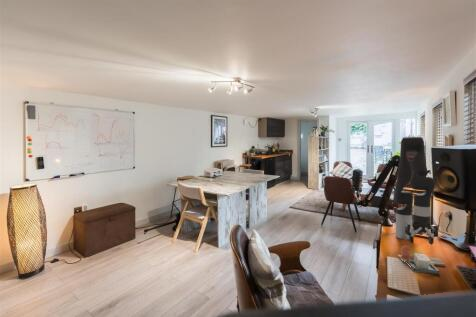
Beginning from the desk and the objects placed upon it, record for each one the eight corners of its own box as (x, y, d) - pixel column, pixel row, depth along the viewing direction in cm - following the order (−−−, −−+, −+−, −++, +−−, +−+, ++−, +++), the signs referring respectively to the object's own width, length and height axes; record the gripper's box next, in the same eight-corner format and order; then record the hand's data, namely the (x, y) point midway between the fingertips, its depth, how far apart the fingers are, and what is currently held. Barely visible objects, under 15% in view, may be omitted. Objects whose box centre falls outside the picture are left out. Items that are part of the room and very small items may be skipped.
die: (413, 260, 127) (414, 253, 126) (424, 261, 126) (425, 254, 124) (417, 267, 123) (418, 259, 121) (428, 268, 121) (430, 261, 119)
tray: (406, 263, 129) (406, 259, 128) (429, 265, 126) (429, 261, 126) (414, 271, 120) (414, 268, 120) (439, 274, 117) (439, 270, 117)
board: (397, 256, 136) (397, 254, 136) (437, 259, 131) (437, 258, 131) (402, 262, 129) (403, 260, 129) (445, 266, 124) (445, 264, 124)
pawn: (399, 256, 135) (400, 243, 134) (407, 256, 134) (407, 244, 133) (402, 259, 131) (403, 246, 130) (410, 260, 130) (411, 247, 129)
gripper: (433, 212, 124) (432, 241, 125) (403, 211, 128) (402, 239, 129) (441, 216, 117) (440, 247, 118) (409, 215, 121) (408, 245, 122)
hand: (421, 243), depth 124 cm, fingers open, 8 cm apart
